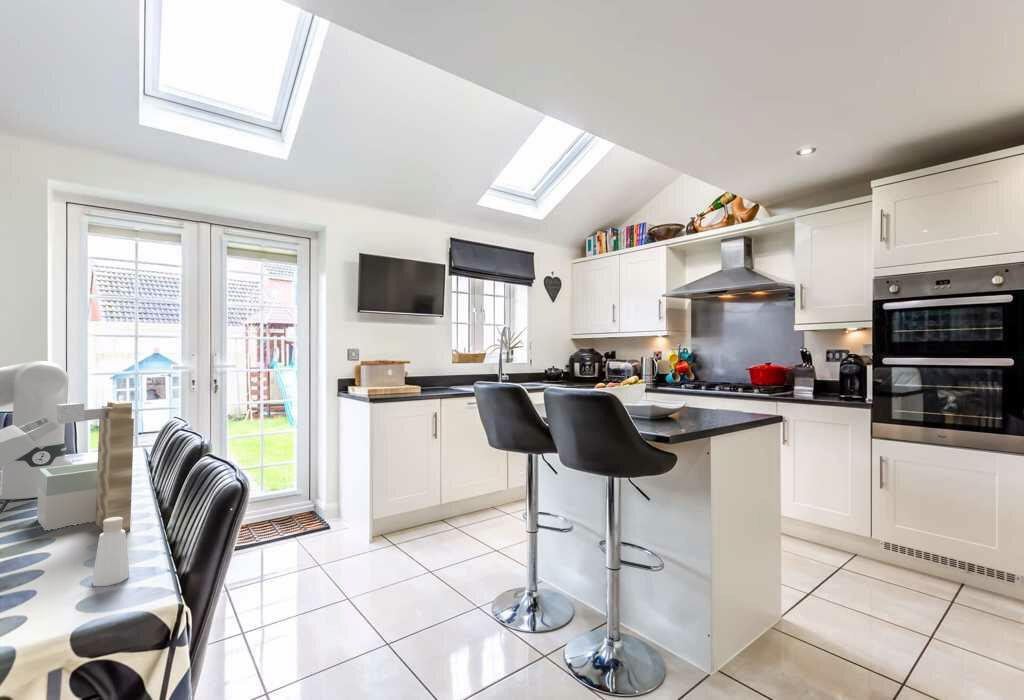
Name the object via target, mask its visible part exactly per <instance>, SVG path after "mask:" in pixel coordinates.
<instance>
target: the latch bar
mask: <svg viewBox="0 0 1024 700" xmlns="http://www.w3.org/2000/svg"><path fill="white" fill-rule="evenodd" d="M107 408H108V407H104V408H102V407H94V408H85V402H70V403H69V402H67V404H57V422H58V423H60V424H62V423H65V424H70V423H80V422H85V421H93V420H99V419H105V418H107Z"/></svg>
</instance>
